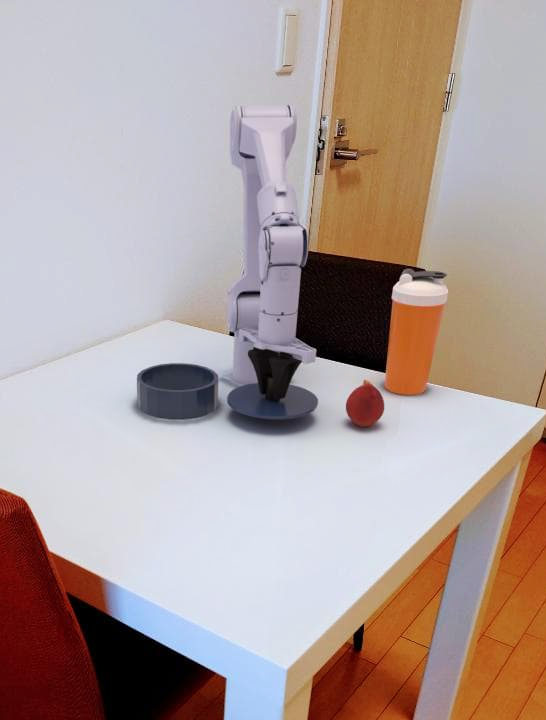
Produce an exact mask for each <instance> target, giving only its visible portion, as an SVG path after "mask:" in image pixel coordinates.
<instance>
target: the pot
mask: <svg viewBox="0 0 546 720" xmlns="http://www.w3.org/2000/svg"><path fill="white" fill-rule="evenodd" d="M218 401H219V374H218V373H216V371H215V370H213V369H212V368H209V367H207V366H203V365H199V364H195V363H194V364H193V363H183V362H170V363H160V364H156V365H151V366H149V367H146V368H144V369H142V370H140V372H139V373H137V375H136V404H137V405H136V406H137V408H138V409H139V411H141V412H142V413H143V414H145V415H148V416H150V417H154V418H158V419H163V420H169V421H170V420H172V421H173V420H175V421H177V420H179V421H180V420H181V421H183V420H192V419H197V418H201V417H205V416H208V415H210V414H212V413H214V412H215V410H217V408H218V403H219V402H218Z"/></svg>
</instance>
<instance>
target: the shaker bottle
mask: <svg viewBox="0 0 546 720" xmlns="http://www.w3.org/2000/svg"><path fill="white" fill-rule="evenodd" d="M447 275H448V274H447V273H445V272H443V271H436V270H422V271H421V270H420V271H414V270H413V269H412V268H406V269H404V270H403V271H402V272H401V275H400V277H399V281H397V282H396V283H395V284H394V285H393V287H392V293H391V300H392V303H391V304H392V305H391V314H390V323H389V324H390V325H389V335H388V345H387V346H388V347H387V354H386V355H387V357H386V366H385V367H386V368H385V377H384V388H385V389H386V390H387V391H388V392H391V393H394V394H396V395H404V396H415V395H420V394H423V393H424V392H425V391H426V389H427V386H428V385H427V384H428V381H429V375H430V372H431V367H432V362H433V358H434V354H435V349H436V345H437V340H438V336H439V331H440V327H441V322H442V318H443V314H444V310H445V305H446V304H447V303H448V296H449V290H448V288H447V285H446V284H445V282H444V279H445V277H447Z"/></svg>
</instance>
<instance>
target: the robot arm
mask: <svg viewBox="0 0 546 720" xmlns="http://www.w3.org/2000/svg"><path fill="white" fill-rule="evenodd" d="M297 117H298V115H297V109H295V108H294V106H293V105H292V104H287V105H240V104H236V105H234V107H233V108H232V110H231V113H230V121H229V157H230V159H231V160H230V161H231V163H230V164H231V165H232V166H234V167H236V168H237V169H239V170H240V173H241V177H242V184H243V274H242V275H241V276H239V277H238V278H237V279H235V280H234V281H233V282H232V283H231V284H230V285H229V287H228V289H227V300H226V307H225V309H226V310H225V312H226V313H225V314H226V317H225V318H226V327H227V330H229V332H231V333H233V334H234V337H233V338H234V339H233V340H234V341H233V360H232V361H233V362H232V373H231V374H226V375H223V376H222V379H226V380H227V381H230V382H231V383H234V384H236V385H238V386H239V387H240V386H243V385H247V384H253V383H258V385H259V390H260V394H262V395H264V394H265V388H266V375H267V374H270V373H272V374H273V399H275V400H279V399H282V398H285V396H286V393H287V390H288V387H289V384H290V385H291V382H292V379H293V377H294V375H295V373H296V372H297V371H298V368H299V367H300V365H301V363H302V364H304V365H309V364H312V363H315V362H316V357H317V349H316V348H314V347H311V346H310V345H308V344H306V343H305V342H303V341H302V340H301V339H298V338H297V337H296V334H297V322H298V312H299V310H298V309H299V299H300V287H301V276H302V274H301V273H302V268H304V267H305V266H306V263H307V259H308V254H309V233H308V228H307V225H306V224H305V223H304V220H303V219H300V215H299V208H298V202H297V195H296V190H295V188H294V187H293V185H291V183H288V182H287V165H286V162H287V159H288V158H289V157H290V153H291V151H292V148H293V145H294V144H295V140H296V136H297V128H298V126H297V125H298V119H297ZM300 266H301V267H302V268H301V267H300ZM254 292H255V293H257V294H241V293H254ZM259 292H260V294H259Z"/></svg>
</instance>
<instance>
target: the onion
mask: <svg viewBox="0 0 546 720" xmlns="http://www.w3.org/2000/svg"><path fill="white" fill-rule="evenodd" d="M345 412H346V415H347V417H348V418H349V419H350V420H351V421H352V423H353V424H355V425H356V426H357V427H359V428H368V427H370V426H372V425H374V424H375V423H377V422H378V421H379V420H380V419H381V418H382V416H383V415H384V412H385V401H384V397H383V395H382V393H381V392H380V390H379V389H378V388H377V387H375V386H374V385H373V384H372V383H371V382H370V380H368V379H364V380H363V383H362V385H360V386H358V387H356V388H355V389H353V391H352V392H351V393H350V394H349V395H348V397H347V399H346V403H345Z"/></svg>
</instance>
